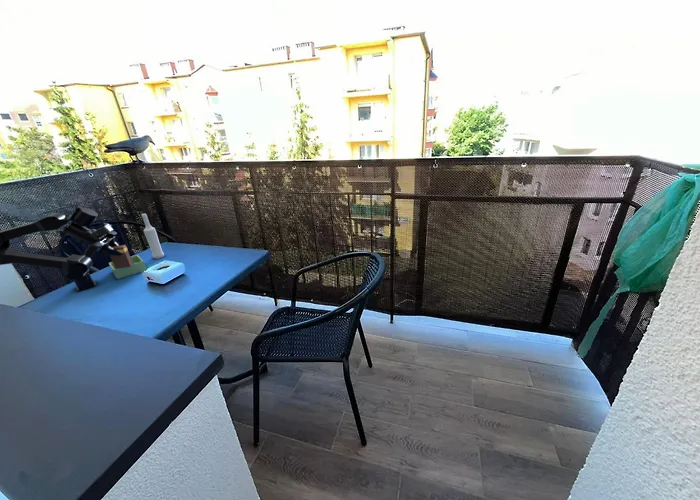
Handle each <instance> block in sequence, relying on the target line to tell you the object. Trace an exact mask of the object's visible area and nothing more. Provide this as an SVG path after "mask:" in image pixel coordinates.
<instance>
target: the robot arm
mask: <svg viewBox="0 0 700 500" xmlns="http://www.w3.org/2000/svg"><path fill="white" fill-rule="evenodd" d="M97 217H98V212H96V211H95V210H93V209H91V208H87V207H82V206H77V207H76V208H75V210H74V212H73V213H72V214H64V213H61V212H53V213H51V214H49V215H47V216H45V217H43V218H40V219H38V220H37V221H33V222H29V223H26V224H21V225H18V226H15V227H11V228H7V229H4V230H0V266H2V265H12V264H15V265H17V264H18V265H24V266H25V265H26V266H36V267H44V268H54V269H61V270H63V271H66V272H67V274H66V275H65V277H66V278H67V280H69V281H72V280H73V282H74V284H75V288H76V291H77V292H81V291H84V290H88V289H90V288H93V287H96V286H97V283H96V280H93V278H92V276H91V274H90V271H91V269H92V268H91V267H92V266H93V265H94V261H93V259H91V258H92V257H94V256H95V253H96V252H97V253H96V255H105V256H106V255H107V256H110V255H118V256H121V254H122V253H120V252H119V251H117V250H115V249H113V248H112V246H120V245H119V243H117V241H116V236H117V235H118V232H116V231H114V229H113V225H112V224H110V223H107V222H103V223H102V224H100V228H98V229H96V228H91V229H90V228H88V227H90V226H91V225H92V224H93V223H94V222H95V220H96V218H97ZM70 222H71V223H70ZM69 223H70V224H69ZM62 227H64V228H63V229H62ZM59 229H60V230H59ZM57 230H58V233H59V237H60V238H64V237H66V236H70V237H72V238H74V239H76V240H78V241H79V243H80V244H87V245H88V247H87V248H86V249H85V251H84V253H83V254H82V255H79V254H74V253H73V254H71V255H70V256H68V257H61V256H52V255H45V254H36V253H29V252H28V253H27V252H20V251H17V250H15V249H14V248H11V241H10V240H14V239H17V238H21V237H24V236H28V235H31V234H34V233H38V232H49V231H57Z"/></svg>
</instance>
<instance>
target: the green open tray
mask: <svg viewBox="0 0 700 500" xmlns="http://www.w3.org/2000/svg"><path fill="white" fill-rule="evenodd" d="M130 257H131V260H132V262H133V265H132V266H131V267H126V268H119V269H115V266H114V264H113V262H112V261H110V262H108V265H109V267H110V268H109V269H110V270H111V272H112V274H113V275H114V277H115V278H116V280H119V279H123V278H126V277H130V276H133V275H135V274H138V273H141V272H145V271H147V270H146V269H147V266H146V263H145V261H144V260H143V259H142V257H140V256H139V254H136V255H135V254H134V255H132V256H130ZM144 270H145V271H144Z"/></svg>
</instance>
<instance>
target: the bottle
mask: <svg viewBox="0 0 700 500" xmlns="http://www.w3.org/2000/svg"><path fill="white" fill-rule="evenodd" d="M141 217H142V220H143V223H144V225H145V227H144V229H143V233H144V236H145V238H146V241H147V244H148V246H149V248H150V251H151V254H152V257H153V259H155V260H159V259H162V258H164V257H165V253H164V252H163V249H162V247H161V243H160V240H159V237H158V233H157V231H156V227H153V226H152V225H151V224H150V221H149V218H148V215H147V213H142V214H141Z"/></svg>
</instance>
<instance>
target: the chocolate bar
mask: <svg viewBox="0 0 700 500" xmlns="http://www.w3.org/2000/svg"><path fill="white" fill-rule="evenodd" d="M112 248H113V249H115V250H117V251H119V252H120V253H122V254H121V256H118V255H109V257H110V259H111V262H113V264H114V266H115V269H119V268H126V267H131V266H132V265H133V262H132V260H131V257H132V256H131V255H130V251H129V250H128V246H127V244H122V245H119V246H112Z"/></svg>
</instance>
